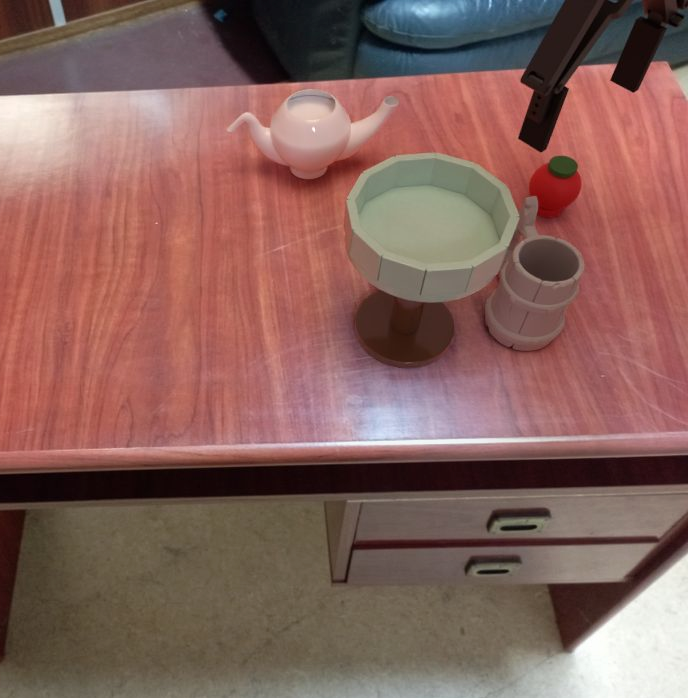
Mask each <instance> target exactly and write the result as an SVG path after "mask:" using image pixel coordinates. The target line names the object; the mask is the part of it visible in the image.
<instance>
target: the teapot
mask: <svg viewBox="0 0 688 698" xmlns="http://www.w3.org/2000/svg"><path fill="white" fill-rule="evenodd" d="M399 103H400V99H399V98H398V97H396V96H394V95H389V96H386V97H384V98H383V100H382V102H381V103H380V105H379V106H378V108H377V109H376V110H375V111H374V112H373V113H370V115H368V116H366V117H364V118H362V119H360V120H356V121H353V122H351V117H350V115H349V113H348V111H347V110H346V109H345V107H344V106H343V105H342V103H341V102H340V100H339V99H338V98H337V97H336V96H335V95H333V94H332V93H330V92H329V91H326V90H322V89H318V88H317V89H316V88H308V89H307V88H306V89H300V90H298V91H295V92H293V93H292V94H290V95H288V96H287V97H285V99H284V100H283V101H282V102H281V103H280V105H279V106H278V107H277V108H276V110H275V111H274V113H273V114H272V117H271V119H270V122H269V126H264V125H263V124H262V123H261V122H260V121H259V119H258V118H257V117H256V116H255V115H254V114H253V113H252V112H250V111H245V112H243V113H242V114H240V115H239V116H238V117H237V118H236V119H235V120H234V121H233V122H231V124H230V125H229V126H227V128H226V129H225V131H226V132H227V133H234V132H236V131H237V130H238V129H239V128H240V127H241V126H242V125H243V124H244V123H246V125H247V131H248V135H249V138H250V140H251V141H252V144H254V146H255V147H256V149H258V151H259V152H260V153H261V154H262V155H263V156H264V157H265V158H267V159H268V160H270V161H272V162H273V163H276V164H279V165H282V166H286V167H289V170H290V172H291V173H292V175H293V176H295V177H296V178H298V179H299V178H300V179H302V180H314V179H318V178H320V177H322V176H324V174H325V173H326V172H327V171H328V167H329V166H331V165H332V164H334V163H335V162H339V161H343V160H346V159H349V158H351V157H352V156H354V155H355V154H357V153H358V152H359V151H361V150H362V149H363V148H364V147H365V146H367V145H368V144H369V142H371V140H372V139H373V138H374V137H375V136H376V135H377V134H378V133H379V131H380V130H382V128H383V127H384V125H385V124H386V123H387V121H388V120H389V119H390V117H391V116H392V115H393V113H394V112H395V111H396V109H397V108H398V106H399Z"/></svg>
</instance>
